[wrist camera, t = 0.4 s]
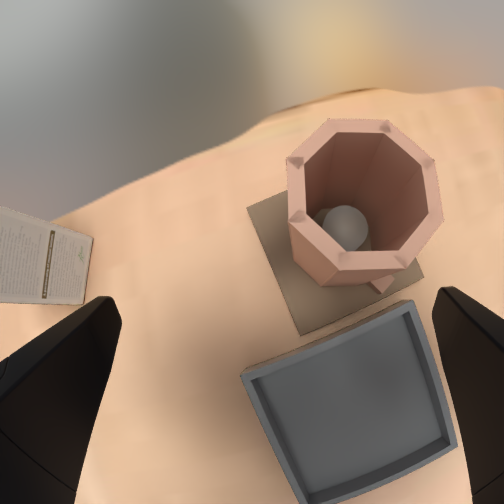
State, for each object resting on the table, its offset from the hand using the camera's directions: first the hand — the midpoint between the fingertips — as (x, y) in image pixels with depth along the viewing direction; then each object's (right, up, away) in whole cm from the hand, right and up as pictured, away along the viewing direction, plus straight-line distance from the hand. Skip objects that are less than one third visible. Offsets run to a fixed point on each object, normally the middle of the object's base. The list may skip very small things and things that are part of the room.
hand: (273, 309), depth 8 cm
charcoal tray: (+6, -9, +11) cm, 16 cm away
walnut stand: (+5, +2, +13) cm, 14 cm away
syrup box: (-16, 0, +16) cm, 23 cm away
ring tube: (+5, +2, +12) cm, 13 cm away
